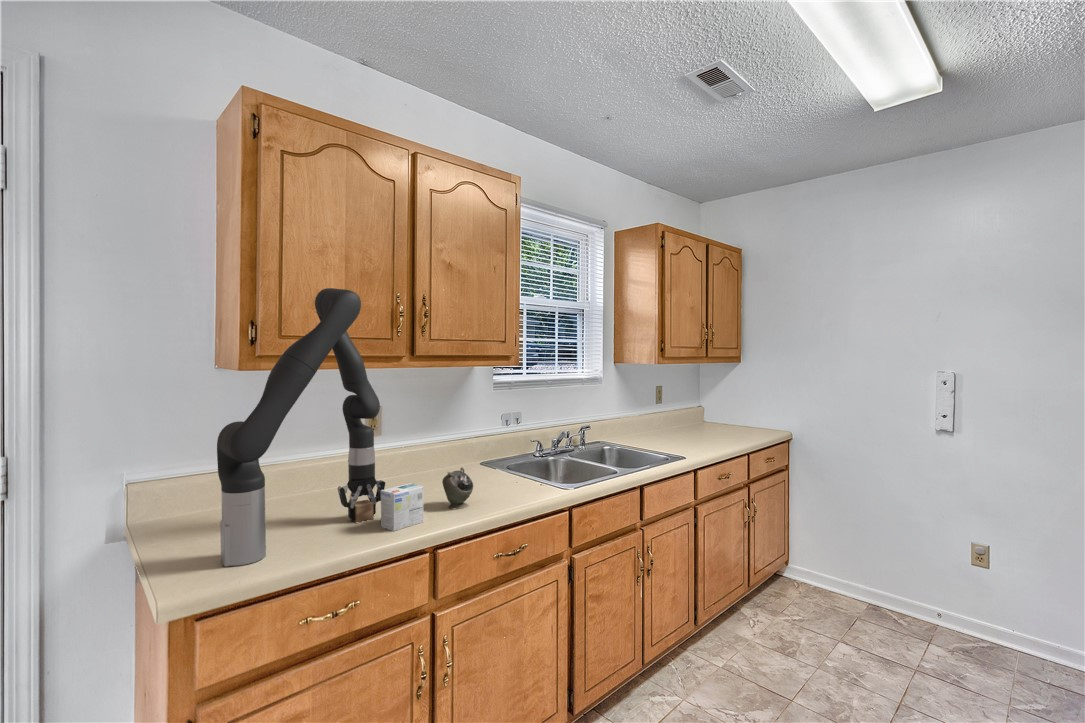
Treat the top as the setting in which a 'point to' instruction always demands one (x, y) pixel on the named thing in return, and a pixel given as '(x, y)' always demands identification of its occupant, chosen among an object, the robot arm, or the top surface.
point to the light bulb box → (401, 506)
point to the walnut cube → (363, 511)
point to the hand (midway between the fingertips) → (362, 517)
